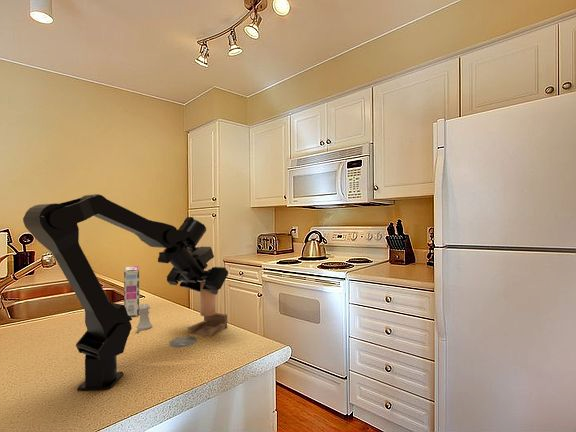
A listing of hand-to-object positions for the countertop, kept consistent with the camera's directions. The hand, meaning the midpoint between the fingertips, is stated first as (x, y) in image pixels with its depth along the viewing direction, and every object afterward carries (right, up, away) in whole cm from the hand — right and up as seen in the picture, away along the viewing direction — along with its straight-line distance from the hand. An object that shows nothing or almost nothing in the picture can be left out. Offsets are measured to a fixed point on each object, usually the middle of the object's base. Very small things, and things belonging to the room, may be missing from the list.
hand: (210, 292), depth 97 cm
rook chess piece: (-21, -12, +2) cm, 24 cm away
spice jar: (-1, -6, -1) cm, 6 cm away
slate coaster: (-5, -12, -10) cm, 16 cm away
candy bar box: (-34, -13, +21) cm, 42 cm away
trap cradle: (0, -12, -1) cm, 12 cm away
